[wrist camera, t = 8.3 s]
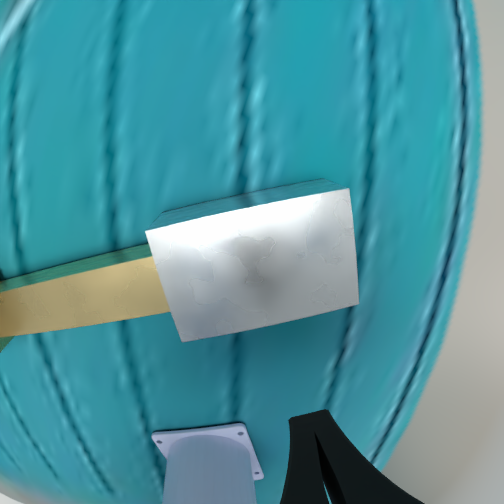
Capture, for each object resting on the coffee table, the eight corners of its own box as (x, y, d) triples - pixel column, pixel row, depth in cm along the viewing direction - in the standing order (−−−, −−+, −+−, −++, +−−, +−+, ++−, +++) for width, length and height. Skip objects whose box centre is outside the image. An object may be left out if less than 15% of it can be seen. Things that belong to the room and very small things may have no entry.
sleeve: (334, 273, 19) (359, 303, 15) (189, 304, 19) (182, 342, 15) (322, 178, 17) (349, 188, 13) (162, 212, 17) (145, 231, 13)
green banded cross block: (190, 299, 18) (175, 370, 12) (-25, 334, 18) (-65, 377, 12) (168, 223, 17) (137, 268, 11) (-47, 285, 16) (-94, 321, 10)
